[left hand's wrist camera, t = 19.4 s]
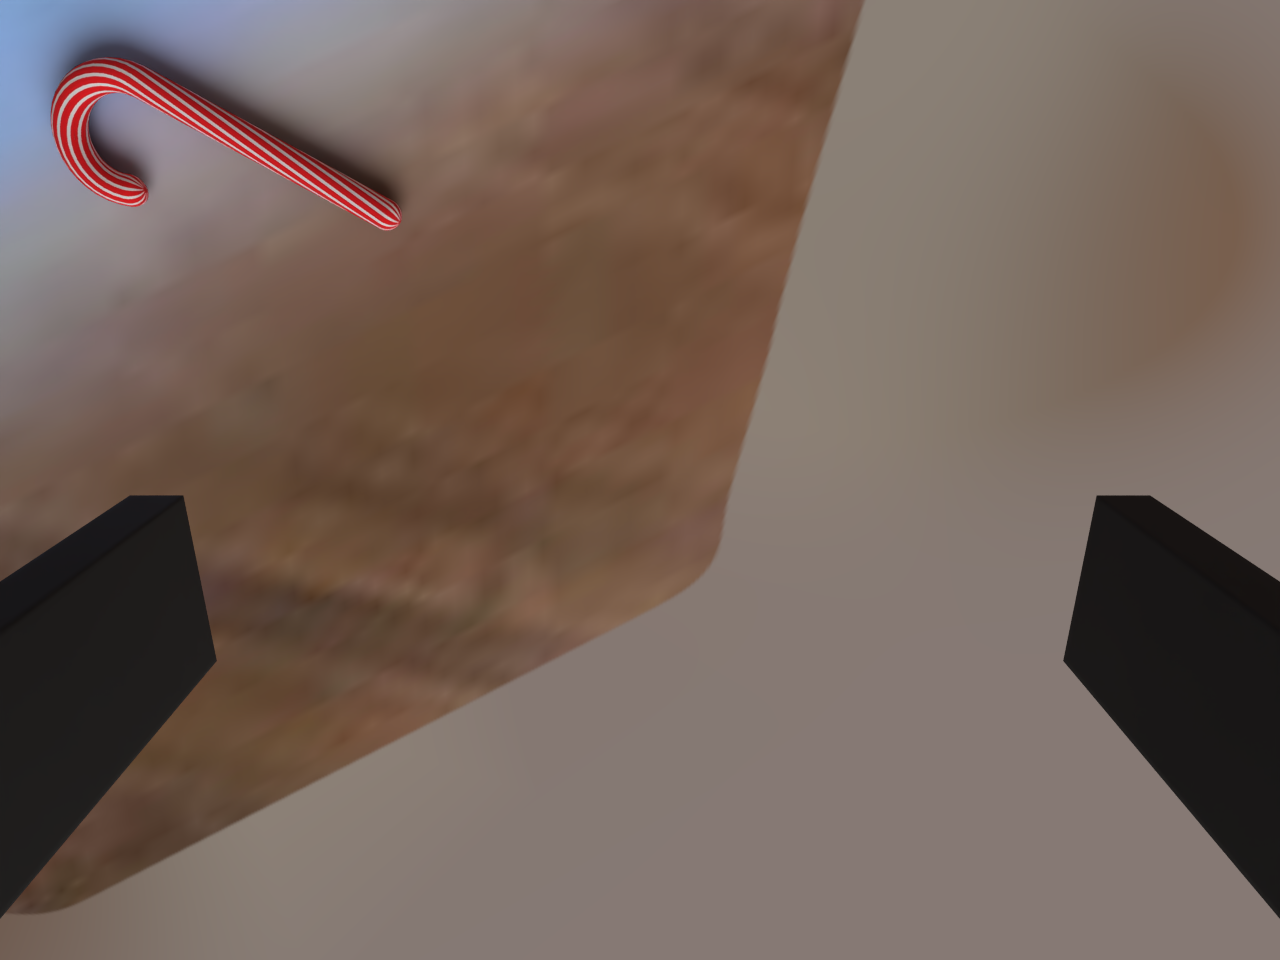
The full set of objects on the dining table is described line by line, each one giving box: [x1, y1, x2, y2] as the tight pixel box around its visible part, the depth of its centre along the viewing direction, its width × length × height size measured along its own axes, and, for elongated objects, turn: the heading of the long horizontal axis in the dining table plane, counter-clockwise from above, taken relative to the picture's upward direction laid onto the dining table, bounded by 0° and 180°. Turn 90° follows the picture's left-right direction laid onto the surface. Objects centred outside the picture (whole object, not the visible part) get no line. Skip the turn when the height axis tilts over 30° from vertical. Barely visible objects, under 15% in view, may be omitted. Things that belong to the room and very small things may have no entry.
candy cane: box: [51, 57, 402, 230], centre depth 38 cm, size 6×15×2 cm, turn 62°
